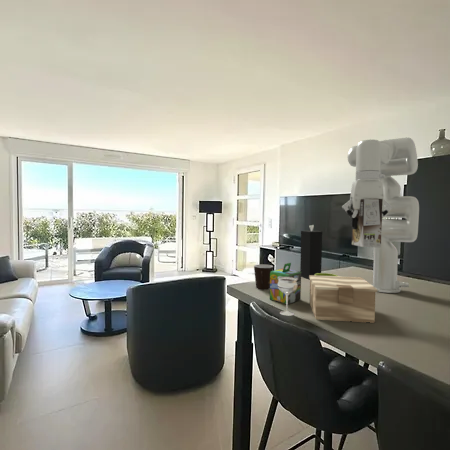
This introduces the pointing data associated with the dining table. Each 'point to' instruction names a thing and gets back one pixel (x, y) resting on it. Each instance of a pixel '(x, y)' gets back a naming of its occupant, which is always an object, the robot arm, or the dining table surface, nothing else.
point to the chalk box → (274, 290)
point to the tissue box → (311, 252)
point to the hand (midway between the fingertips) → (366, 229)
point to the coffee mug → (262, 276)
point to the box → (342, 306)
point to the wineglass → (287, 290)
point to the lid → (342, 286)
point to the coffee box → (368, 224)
